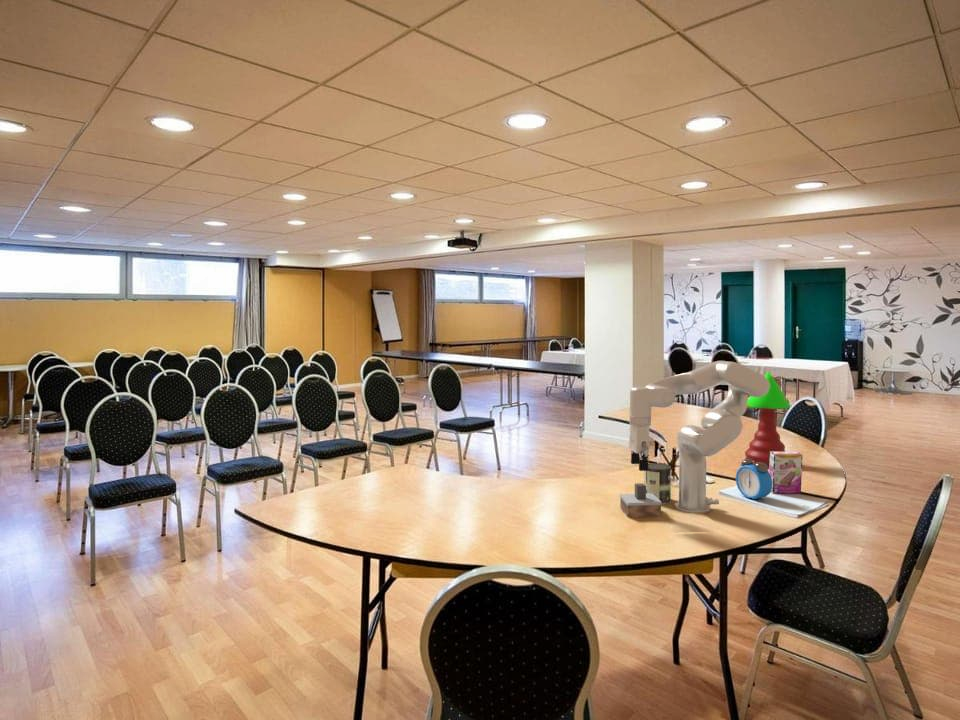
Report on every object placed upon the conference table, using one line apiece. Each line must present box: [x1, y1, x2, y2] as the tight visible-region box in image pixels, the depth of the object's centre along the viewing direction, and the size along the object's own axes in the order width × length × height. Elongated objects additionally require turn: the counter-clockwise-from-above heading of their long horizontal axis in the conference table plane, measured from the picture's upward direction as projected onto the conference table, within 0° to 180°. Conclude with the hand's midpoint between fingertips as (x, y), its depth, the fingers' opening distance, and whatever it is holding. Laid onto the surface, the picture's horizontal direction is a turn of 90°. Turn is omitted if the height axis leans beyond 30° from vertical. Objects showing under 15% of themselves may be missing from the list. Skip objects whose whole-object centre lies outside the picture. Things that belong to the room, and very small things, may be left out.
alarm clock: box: [735, 458, 772, 500], centre depth 233 cm, size 13×6×15 cm, turn 22°
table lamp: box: [743, 370, 792, 469], centre depth 283 cm, size 20×20×45 cm
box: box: [619, 497, 662, 519], centre depth 217 cm, size 12×10×5 cm
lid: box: [619, 482, 663, 506], centre depth 216 cm, size 12×10×6 cm
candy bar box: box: [768, 451, 803, 495], centre depth 239 cm, size 11×5×16 cm, turn 84°
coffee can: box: [643, 462, 672, 505], centre depth 231 cm, size 10×10×14 cm
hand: (639, 467), depth 216 cm, fingers open, 9 cm apart
